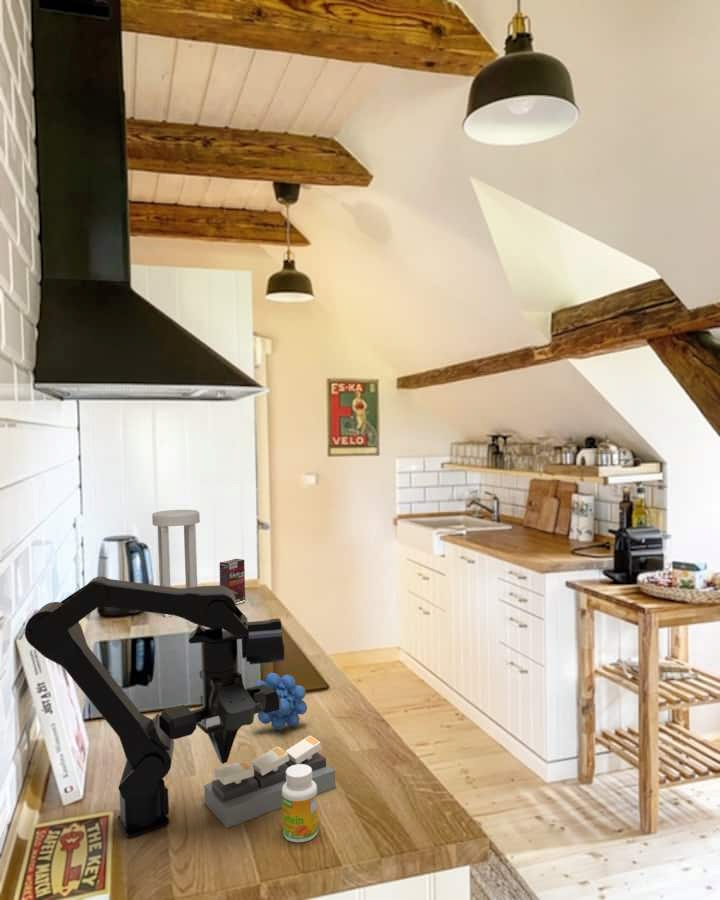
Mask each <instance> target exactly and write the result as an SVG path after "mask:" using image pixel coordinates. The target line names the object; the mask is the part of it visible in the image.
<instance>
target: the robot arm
mask: <svg viewBox="0 0 720 900" xmlns="http://www.w3.org/2000/svg"><path fill="white" fill-rule="evenodd" d="M99 607H103V608H104V607H105V608H113V609H120V610H121V609H123V610H128V611H137V612H146V613H151V614H160V615H161V614H162V615H164V614H168V615H171V616H176V617H179V618H182V619H184V620H186V621H188V622H190V623H192V624H194V625H195V624H196V625H197V626H196V628H194V630H193V631H192V632H191V633H189V638H188V643H189V644H198V643H199V644H200V649H201V650H200V651H201V654H200V655H201V670H199V679H201V681H202V682H201V683H202V695H200V696H199V697H200V703H201V704H202V705H203V707H200V708H196V709H193V710H190V709H189V708H188V707H187V706H186V705H184V704H181V705H179V706H178V705H177V706H175V707H174V706H173V707H170V708H166V709H163V710H162V711H161V713H157V714H156V715H155V716H154V717H153V718H152V719H151V717H148V716H145V714H143V713H141V711H140V710H139V709H138V707H136V705H135V704H134V703H133V701H132V700H131V699H130V697H129V696H128V695H127V694H126V693H125V691H124V690H123V689H122V688H121V687H120V685H119V683H118V682H117V681H116V680H115V678H114V677H113V676H112V674H110V672H109V671H108V670H107V668H106V667H105V666H104V665H103V664H102V662H101V661H100V659H99V658H97V655H95V653H94V652H93V651H92V650H91V648H90V646H88V643H87V640H86V638H85V637H86V636H85V634H84V630H83V628H82V626H81V624H80V621H81V620H83V619H84V618H86V617H87V616H88V615H90V613H92V612H93V611H95V610H96V609H97V608H99ZM24 629H25V630H24V637H25V639H26V641H27V643H28V644H29V645H30V646H31V647H33V648H34V649H35V650H36V651H37V652H38V653H39V654H41V655H42V656H43V657H44V658H46V659H48V660H49V661H51V662H53V663H55V664H57V665H59V666H60V667H62V668H63V669H64V670H65V671H66V672H67V673H68V675H69V676H70V677H71V679H72V680H73V681H74V683H75V684H76V685H77V686H78V687H79V689H80V690H81V691H82V692H83V694H84V695H85V697H86V698H88V700H89V701H90V702H91V703H92V705H93V706H94V707H95V709H96V710H97V711H98V713H99V714H100V715H101V716H102V717H103V719H104V720H105V721H106V722H107V724H108V725H109V727H110V728H111V729H112V730H113V732H114V733H116V735H117V736H118V738H119V740H120V743H121V746H122V750H123V753H124V756H125V760H126V762H125V765H124V767H123V772H122V774H121V778H120V781H119V785H118V791H119V811H120V812H119V814H120V815H118V816H117V817H116V818H117V822H118V824H119V825H120V827H121V829H122V830H123V832H124V833H125V835H126V837H127V838H133V837H136V836H139V835H141V834H145V833H147V832H148V833H149V832H150V831H153V830H154V831H155V830H157V829H160V828H161V827H165V826H168V825H169V824H170V822H171V821H170V819H169V817H168V815H169V813H170V809H169V808H170V806H169V804H170V803H169V789H168V788H167V786H166V785H165V782H166V781H165V780H164V778H165V777H166V776H167V775H168V774H169V772H170V770H171V768H172V761H173V755H174V750H175V740H177V739H181V738H184V737H185V738H186V737H188V736H191V735H193V733H194V732H195V731H196V730H197V727H198V728H199V729H200V730H202V732H204V733H205V734H207V736H208V738H209V740H210V742H211V744H212V747H213V748H214V751H215V754H216V755H217V758H218V760H219V763H221V765H222V764H227V763H228V761H229V758H230V755H231V754H230V753H231V750H232V748H233V744H234V742H235V738H236V736H237V735H238V731H239V730H240V729H241V728H242V727H244V726H251V725H252V724H253V723H254V720H255V715H258V713H260V712H262V711H263V712H264V713H269V712H273V711H276V710H279V709H280V708H281V700H280V696H279V693H277V692H276V691H275V690H273V689H271V688H270V687H268V686H267V685H265V684H263V685H259V686H255V685H254V686H252V687H248V688H245V686H244V683H243V677H242V673H240V672H239V656H238V655H239V654H238V653H239V651H238V640H241V659H243V660H244V659H245V660H246V663H248V662H249V663H248V664H249V665H256V664H258V665H259V664H260V665H261V664H268V663H269V664H270V663H278V662H279V663H281V662H284V661H285V642H284V639H283V631H282V630H283V629H282V621H281V618H280V617H279V618H278V617H277V618H271V619H267V620H258V621H257V620H256V621H248V618H247V616H246V614H244V613H243V612H242V611H241V609H240V608H239V607H238V605H236V600H235V596H234V594H233V593H232V591H231V590H230V589H229V588H227V587H225V586H220V584H219V585H216V584H215V585H199V586H198V585H197V587H191V588H186V587H183V588H182V587H180V588H179V587H173V586H170V587H166V586H160V585H158V584H157V585H156V584H149V583H142V582H134V581H129V580H128V581H127V580H121V579H120V580H119V579H111V578H108V577H106V576H96V577H94V578H92V579H91V580H90V581H89V582H88V583H87V584H85V585H84V586H83V587H81V588H79V589H77V591H75V592H73V593H72V594H70V595H69V596H67V597H66V598H65V599H63V600H62V601H60V602H59V601H52V602H49V603H46V604H45V605H43V606H42V607H40V608H39V610H38V611H37V612H35V613H34V615H32V616H31V617H30V618H29V619H28V621H27V623H26V625H25V628H24Z"/></svg>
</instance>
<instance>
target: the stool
mask: <svg viewBox="0 0 720 900" xmlns="http://www.w3.org/2000/svg"><path fill="white" fill-rule="evenodd" d="M151 514H152V515H151V516H152V525H153V526H155V527H157V543H158V544H157V549H158V572H159V573H158V575H159V579H158V580H159V586H166V587H171V566H170V565H171V563H170V561H171V560H170V558H171V557H170V538H169V537H170V536H169V535H170V532H169V531H170V530H169V527H181V526H182V527H183V536H184V537H183V541H184V542H183V543H184V544H183V545H184V546H183V547H184V568H185V569H184V571H185V577H184V578H185V588H191V587H198V564H197V560H198V559H197V537H196V535H197V534H196V533H197V531H196V524H198V523H200V521H201V520H200V516H201V515H200V512H199V511H198V510H196V509H171V510H161V511H160V510H159V511H157V512H153V513H151Z"/></svg>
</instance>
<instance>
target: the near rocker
mask: <svg viewBox="0 0 720 900" xmlns="http://www.w3.org/2000/svg"><path fill="white" fill-rule="evenodd" d="M253 776H254V768H253V766H252V765H251V764H249V763H248V762H247V761H246V760H241V761H237V762H234V763H230V764H227V765H224V766H220V767H216V768H214V777H215V778H216V779H219V780H220V781H221V782H222V783H223V784H224V785H226V784H229V783H232V782H235V783H236V784H238V783H241V780H243V779H246V778H249V777H253Z"/></svg>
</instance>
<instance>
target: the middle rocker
mask: <svg viewBox="0 0 720 900" xmlns="http://www.w3.org/2000/svg"><path fill="white" fill-rule="evenodd" d="M287 761H289V757H288V754H287V753H286V750H284V749H282V748H281V747H279V745H278V746H275V747H274V748H272V749H270V750H268V751H266V752H265V753H263V754H261V755H259V756H257V757H256V758H254V759H252V760H251V762H250V763H251V767H252V768H254V769H255V770H256V771H257V772H258V773H260V774H261V775H262V776H263V775H265V774H267V773H268V772H270V771H272V770H273V771H274V772H275V771H276V770H278V767H279V766H280V765H282V764H284V763H286V762H287Z"/></svg>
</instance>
